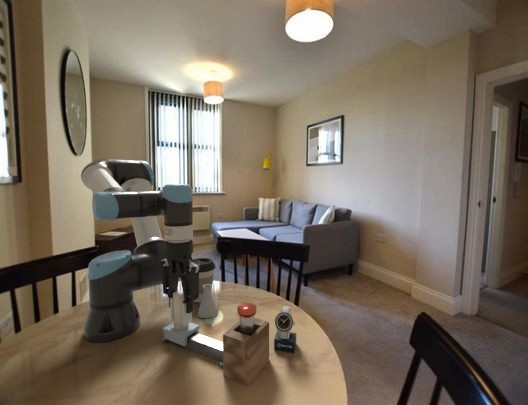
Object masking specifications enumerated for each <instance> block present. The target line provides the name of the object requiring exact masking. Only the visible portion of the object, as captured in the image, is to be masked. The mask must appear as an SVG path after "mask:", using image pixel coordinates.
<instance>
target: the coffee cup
mask: <svg viewBox="0 0 528 405" xmlns="http://www.w3.org/2000/svg"><path fill="white" fill-rule="evenodd" d="M192 260H193V263H195V264H196V265H198V264H200V266H201V268H200V271H199V298H198V299H196V300H194V302H193V303H196V302H198V303H197V304H201V302H202V299H203V293H204V289H203V285H205V284H210V285H212V286H213V283H214V274H215V269H216V263H215V262H214V261H213V259H211V258H209V257H198V258H194V259H193V258H192ZM211 292H212V293H213V287H212V288H211Z"/></svg>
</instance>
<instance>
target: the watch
mask: <svg viewBox="0 0 528 405" xmlns="http://www.w3.org/2000/svg"><path fill="white" fill-rule="evenodd" d="M274 325H275V328H276V333H275V336H274V338H273V350H274V351H277V352H284V353H290V354H295V353H296V347H297V332H291V331H292V329H293V327H294V326H295V325H296V321H294V318H293V315H292V309H291V307H290V306H284V305H283V306H281V309H280V310H279V311H278V313H277V315H276V317H275V318H274Z"/></svg>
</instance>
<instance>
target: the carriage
mask: <svg viewBox="0 0 528 405" xmlns="http://www.w3.org/2000/svg"><path fill="white" fill-rule="evenodd" d="M183 301H184V295H183V289H177V291H175V292H173V313H174V321H171V322H170V323H169V324H168V325H166V326H164V327H163V328H162V332H163V338H165V339H168V340H170V341H169V342H171V341H173V342H175V343H174V344H176V343H178V344H180V345H179V346H181V345H183V346H186V345H187V337H188V336H190V335H191V334H192V333H194V332H196V333H198V334H200V333H199V332H200V330H199V329H200V325H199V324H197V323H194V322H192V321H191V322H190V323H188V324H187V325H185V326H184V325H183V314H182V302H183ZM173 342H172V343H173ZM178 344H177V345H178ZM183 346H182V347H183Z"/></svg>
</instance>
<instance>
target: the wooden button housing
mask: <svg viewBox="0 0 528 405" xmlns="http://www.w3.org/2000/svg"><path fill="white" fill-rule="evenodd" d="M222 342H223V367H222V371H223V372H222V373H223V376H224V377H227V378H229V379H232V380H233V381H236V382H238V383H240V384H243V385H245V386H248V387H250V385H251V384H252V383H253V381H254V380H255V378H256V377H257V376H258V375H259V374H260V372H261V371H262V370H263V368H264V366H266V364H267V363H268V362H269V360H270V322H269V321H267V320H263V319H261V318H260V319H259V318H256V317H254V333H253V334H252V335H251V336H249V335H245V334H242V333H240V320H238V321H237V322H236V323H235V324H233V326H231V327H230V328H229V329H228V330H227V331H225V332H224V333H223V334H222Z"/></svg>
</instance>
